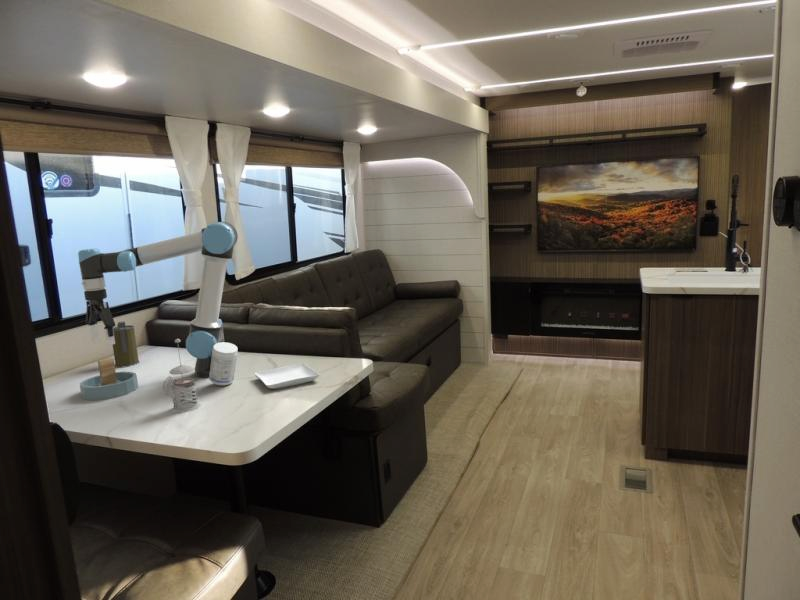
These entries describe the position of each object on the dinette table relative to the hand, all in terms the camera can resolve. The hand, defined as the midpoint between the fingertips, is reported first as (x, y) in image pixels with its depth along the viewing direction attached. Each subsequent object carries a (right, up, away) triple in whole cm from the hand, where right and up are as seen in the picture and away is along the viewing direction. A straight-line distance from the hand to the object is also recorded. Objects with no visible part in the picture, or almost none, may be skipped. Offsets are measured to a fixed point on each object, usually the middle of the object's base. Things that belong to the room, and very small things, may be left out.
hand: (103, 342), depth 227 cm
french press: (+40, -22, -22) cm, 50 cm away
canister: (-11, -13, +44) cm, 48 cm away
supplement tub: (+45, -15, +4) cm, 47 cm away
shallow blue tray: (+1, -19, +3) cm, 20 cm away
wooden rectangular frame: (+1, -18, +3) cm, 19 cm away
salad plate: (+71, -16, +3) cm, 73 cm away
